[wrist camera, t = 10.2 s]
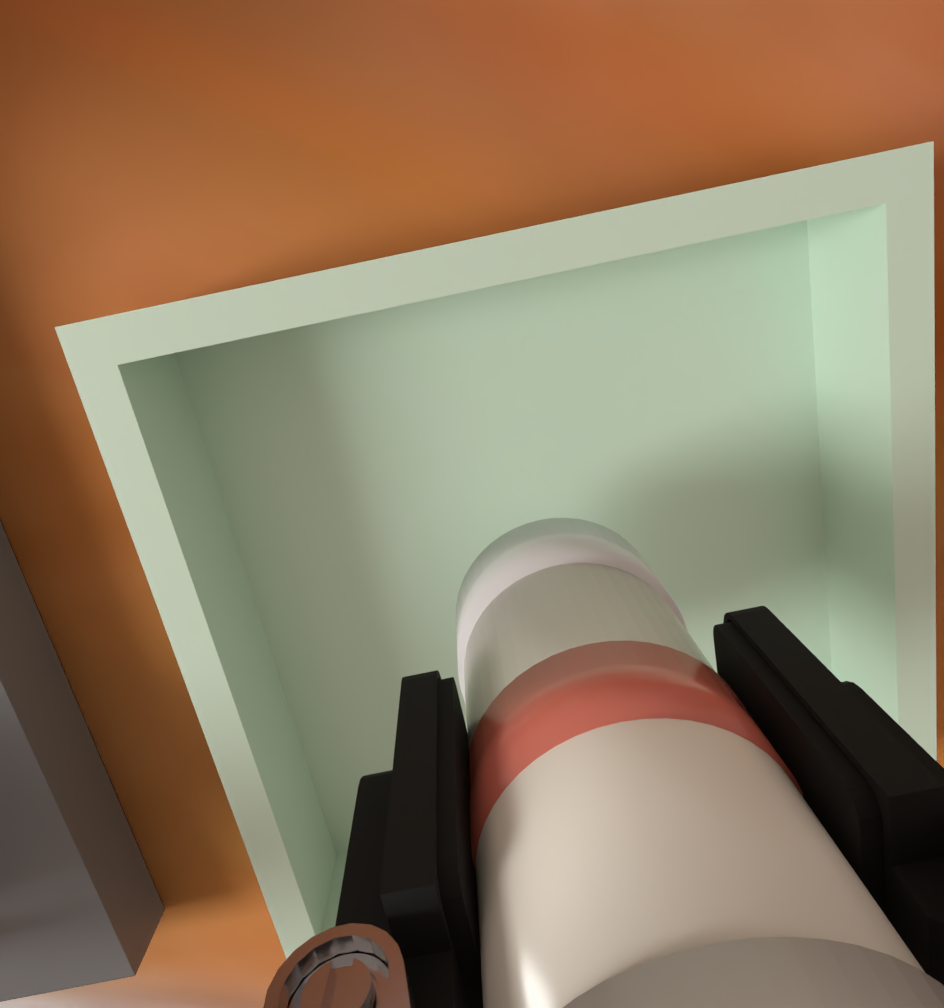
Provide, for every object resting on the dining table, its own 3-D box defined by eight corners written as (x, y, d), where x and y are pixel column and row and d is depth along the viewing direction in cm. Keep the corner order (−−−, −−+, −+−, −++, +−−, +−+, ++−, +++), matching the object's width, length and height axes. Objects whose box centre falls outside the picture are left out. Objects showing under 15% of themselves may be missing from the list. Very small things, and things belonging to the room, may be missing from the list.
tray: (823, 173, 15) (933, 141, 12) (851, 758, 19) (936, 857, 16) (139, 318, 15) (54, 326, 12) (319, 861, 20) (294, 979, 16)
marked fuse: (643, 498, 13) (1366, 1284, 3) (667, 680, 15) (1238, 1692, 4) (436, 540, 14) (420, 1452, 3) (477, 717, 15) (565, 1799, 4)
